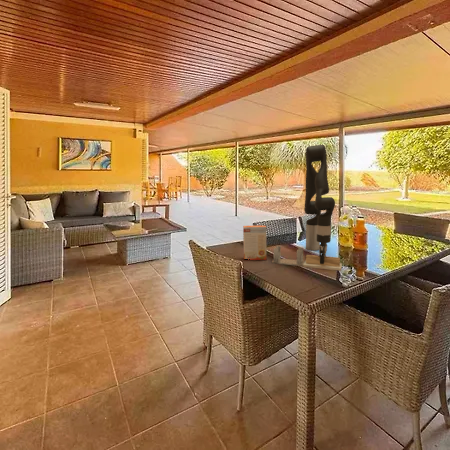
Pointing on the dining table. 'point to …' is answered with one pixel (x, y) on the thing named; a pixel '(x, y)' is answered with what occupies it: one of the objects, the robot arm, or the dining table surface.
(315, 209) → the robot arm
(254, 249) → the cracker box
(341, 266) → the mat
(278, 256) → the standards
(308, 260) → the rail
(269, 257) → the dining table surface
